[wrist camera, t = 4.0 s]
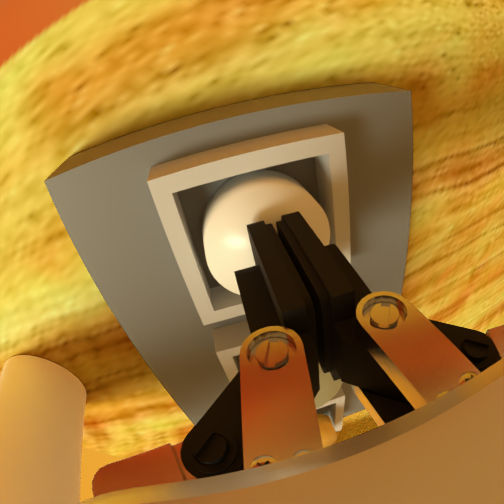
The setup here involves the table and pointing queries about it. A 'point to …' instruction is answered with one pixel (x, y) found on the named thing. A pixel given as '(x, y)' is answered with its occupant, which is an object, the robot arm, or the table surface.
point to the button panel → (196, 199)
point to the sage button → (326, 388)
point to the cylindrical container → (40, 432)
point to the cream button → (252, 219)
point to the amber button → (326, 430)
